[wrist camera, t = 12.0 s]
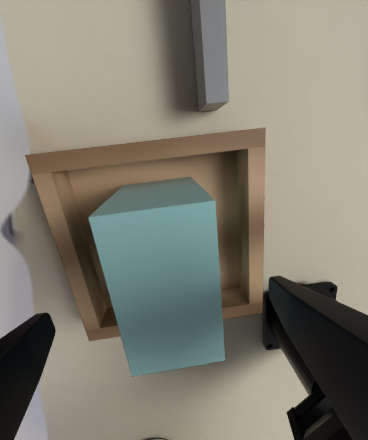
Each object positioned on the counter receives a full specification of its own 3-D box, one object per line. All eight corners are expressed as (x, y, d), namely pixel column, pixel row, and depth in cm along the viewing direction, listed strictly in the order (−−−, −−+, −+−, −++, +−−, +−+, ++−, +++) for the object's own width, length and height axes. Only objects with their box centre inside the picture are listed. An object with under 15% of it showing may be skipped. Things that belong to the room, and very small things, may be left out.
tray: (249, 290, 18) (262, 312, 16) (99, 314, 18) (89, 341, 15) (247, 131, 14) (265, 127, 12) (50, 154, 13) (25, 155, 11)
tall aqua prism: (201, 286, 17) (225, 373, 10) (146, 295, 17) (135, 389, 10) (190, 176, 14) (215, 200, 8) (123, 184, 14) (88, 217, 7)
